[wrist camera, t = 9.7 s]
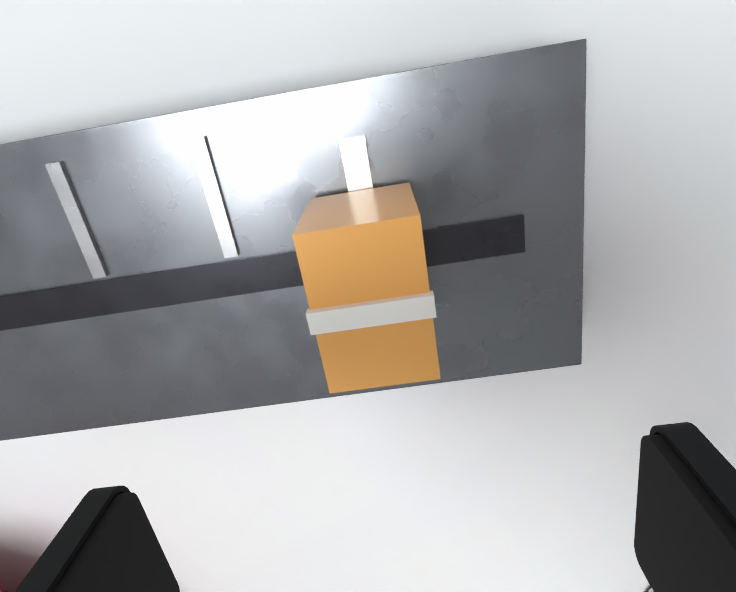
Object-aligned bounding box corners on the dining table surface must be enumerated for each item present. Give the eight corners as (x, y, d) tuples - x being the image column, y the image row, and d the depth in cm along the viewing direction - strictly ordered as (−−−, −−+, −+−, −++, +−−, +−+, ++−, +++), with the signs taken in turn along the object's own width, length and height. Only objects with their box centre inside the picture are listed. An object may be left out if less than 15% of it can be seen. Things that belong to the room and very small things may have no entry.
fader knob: (411, 182, 19) (424, 216, 15) (428, 315, 22) (444, 383, 17) (308, 198, 20) (287, 238, 15) (336, 328, 22) (325, 398, 17)
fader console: (550, 45, 21) (589, 37, 17) (553, 325, 27) (583, 367, 23) (-79, 158, 24) (-169, 175, 20) (45, 395, 29) (-6, 444, 25)
